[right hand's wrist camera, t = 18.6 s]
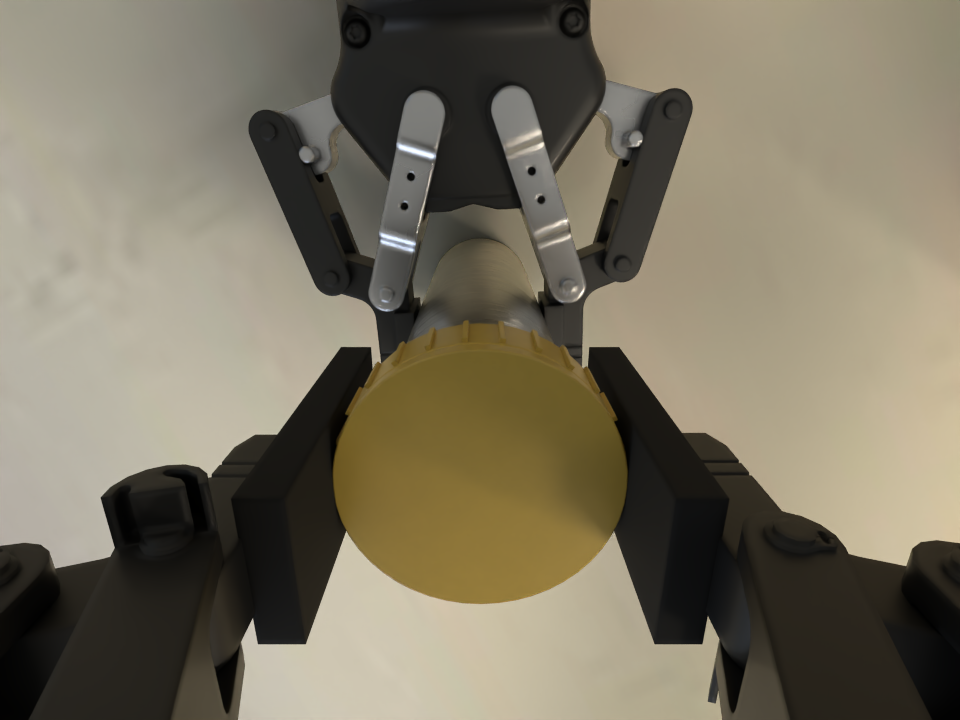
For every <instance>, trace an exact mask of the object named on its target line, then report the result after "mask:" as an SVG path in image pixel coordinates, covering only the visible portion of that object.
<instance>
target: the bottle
mask: <svg viewBox="0 0 960 720" xmlns="http://www.w3.org/2000/svg"><path fill="white" fill-rule="evenodd" d="M465 320H469V324H477V323H482V324H498V321H503V322H504V326H509V327H515V328H518V329H521V330H524V331H528V332H531V331H532V329H533V330H536V331H537V332H538V336H540V337H542V338H544V339H546V340H548V341H550V342H552V343H553V341H552V338H551V335H550V333H549V330H548V328H547V325H546V323H545V320H544V318H543V315H542V313H541V310H540V308H539V305H538V302H537V300H536V297H535V295H534V292H533V290H532V287H531V285H530V282H529V280H528V277H527V274H526V272H525V269H524V267H523V265H522V263H521V261H520V260H519V258H518V257H517V256H516V254H515V253H514V252H513V251H512V250H511V249H509V248H508V247H506V246H505V245H503V244H501V243H499V242H497V241H494V240H490V239H482V238H479V239H471V240H466V241H464V242H461V243H459V244H457V245H455V246H454V247H452V248H451V249H450V250H449V251H448V252H446V254H445V255H444V256H443V257H442V259H441V260H440V262H439V263H438V266H437V268H436V270H435V273H434V275H433V278H432V280H431V283H430V285H429V288H428V290H427V293H426V296H425V298H424V301H423V303H422V306H421V308H420V311H419V313H418V316H417V318H416V321H415V323H414V326H413V329H412V331H411V334H410V336H409V339H408V341H407V343H408V342H410V341H412V340H414V339H416V338H418V337H420V336H422V335H424V334H427V333H428V332H429V329H430V328H432V327H435V329H436V330H439V329H442V328H446V327H451V326H456V325H462V324H463V321H465ZM553 344H554V343H553Z"/></svg>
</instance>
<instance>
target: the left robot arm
mask: <svg viewBox="0 0 960 720" xmlns="http://www.w3.org/2000/svg"><path fill="white" fill-rule="evenodd" d="M336 1H337V9H338V18H339V27H340V35H341V52H340V59H339V63H338V67H337V70H336V72H335V75H334V77H333V80H332V84H331V94H329V95H327V96H324V97H321V98H319V99H316V100H313V101H311V102H308V103H305V104H303V105H300V106H297V107H295V108H292V109H289V110H287V111H284V112H280V111H271V110H261V111H258V112H257V113H255V114H254V115H253V116H252V118H251V119H250V122H249V135H250V138H251V140H252V142H253V145H254V147H255V149H256V151H257V154H258V156H259V158H260V161H261V163H262V165H263V167H264V170H265V172H266V174H267V176H268V179H269V181H270V183H271V186H272V188H273V190H274V192H275V195H276V197H277V199H278V201H279V204H280V206H281V208H282V211H283V213H284V215H285V217H286V220H287V222H288V224H289V226H290V229H291V231H292V233H293V235H294V238H295V240H296V242H297V245H298V247H299V249H300V251H301V254H302V256H303V258H304V260H305V263H306V265H307V267H308V270H309V272H310V274H311V276H312V279H313V281H314V283H315V285H316V287H317V288H318V289H319V290H320V291H321V292H322V293H324V294H326V295H329V296H337V295H340V294H344V295H347V296H350V297H354V298H357V299H360V300H363V301H364V302H366V303H367V304H368V305H369V306H370V307H371V308H372V309H373V311H374V313H375V316H376V321H377V330H378V339H379V348H380V354H381V364H382V362H384V361H385V360H386V359H387V358H388V357H389V356H390V355H391V354H393V353H394V352H395V351H396V350H397V348H398V346H399V344H400V343H401V342H403V341H404V342H405V344H407V341H408V339H409V336H410V334H411V331H412V329H413V326H414V323H415V321H416V318H417V316H418V313H419V311H420V308H421V303H420V297H418V298H414V293H413V278H414V274H415V269H416V265H417V261H418V257H419V253H420V248H421V244H422V240H423V237H424V234H425V231H426V227H427V223H428V219H429V214H430V212H449V211H452V210H455V209H458V208H461V207H464V206H467V205H471V204H477V205H481V206H485V207H490V208H494V209H515V208H519V209H520V212H521V215H522V218H523V221H524V224H525V226H526V229H527V232H528V234H529V237H530V240H531V243H532V246H533V248H534V251H535V254H536V257H537V260H538V263H539V266H540V269H541V272H542V275H543V278H544V291H543V292H538V305H539V308H540V310H541V313H542V315H543V318H544V320H545V323H546V325H547V328H548V330H549V333H550V335H551V338H552V341H553V343H554V344H555V345H556V346H558V347H559V348H560V347H561V346H562V345H564V346H565V347H566V348H567V350H568V353H569V355H570V356H571V357H572V358H573V359H575V360H576V361H577V362H578V363H579V364H580V366H581V367H582V334H583V306H584V302H585V300H586V298H587V297H588V295H589V294H590V293H591V292H592V291H594V290H595V289H598V288H600V287H602V286H605V285H607V284H610V283H612V282H615V281H616V282H626V281H629V280H631V279H632V278H634V277H635V276H636V275H637V273H638V272H639V270H640V267H641V264H642V261H643V258H644V255H645V252H646V249H647V246H648V243H649V240H650V237H651V234H652V231H653V228H654V225H655V222H656V219H657V216H658V213H659V210H660V207H661V204H662V201H663V198H664V195H665V192H666V189H667V186H668V183H669V180H670V177H671V174H672V171H673V168H674V165H675V162H676V159H677V156H678V153H679V151H680V148H681V145H682V142H683V139H684V136H685V133H686V130H687V127H688V124H689V121H690V118H691V115H692V109H693V106H692V101H691V98H690V96H689V95H688V94H687V93H686V92H685V91H683V90H681V89H678V88H672V89H668V90H665V91H662V92H660V93H653V92H649V91H645V90H642V89H638V88H634V87H630V86H626V85H623V84H619V83H615V82H611V81H607V80H606V77H605V72H604V69H603V66H602V64H601V62H600V60H599V58H598V56H597V54H596V51H595V49H594V46H593V42H592V37H591V29H590V3H591V0H336ZM595 115H597V116H598V117H600V118H601V120H602V121H603V122H604V124H605V128H606V138H605V146H606V149H607V151H608V153H609V154H610V155H611V156H612V157H614V158H616V159H618V162H617V165H616V168H615V172H614V175H613V178H612V182H611V185H610V188H609V192H608V195H607V198H606V202H605V205H604V208H603V212H602V215H601V218H600V222H599V225H598V228H597V232H596V235H595V238H594V242H593V244H591V245H589V246H587V247H584V248H582V249H579V250H577V251H576V248H575V245H574V242H573V239H572V235H571V231H570V224H569V220H568V217H567V214H566V211H565V208H564V204H563V201H562V198H561V195H560V192H559V188H558V185H557V182H556V179H555V176H554V175H555V174H556V172H557V171H558V170H559V168H560V167H561V165H562V164H563V162H564V161H565V159H566V158H567V156H568V155H569V153H570V152H571V150H572V149H573V147H574V146H575V144H576V143H577V141H578V140H579V138H580V137H581V135H582V134H583V132H584V131H585V129H586V128H587V126H588V125H589V123H590V122H591V120H592V119H593V117H594V116H595ZM344 127H345V128H346V130H347V131H348V132H349V133H350V135H351V136H352V137H353V138H354V139H355V141H356V142H357V143H358V144H359V146H360V147H361V148H362V149H363V151H364V152H365V153H366V154H367V155H368V157H369V158H370V159H371V160H372V162H373V163H374V164H375V165H376V167H377V168H378V169H379V170H380V171H381V173H382V174H383V175H384V176H385V178H386V179H387V180H388V181H389V186H388V191H387V195H386V200H385V205H384V210H383V214H382V219H381V224H380V229H379V244H378V249H377V254H376V258H375V259H373V258H370V257H367V256H363V255H360V252H359V250H358V247H357V245H356V242H355V240H354V237H353V235H352V232H351V230H350V228H349V225H348V223H347V220H346V218H345V215H344V213H343V210H342V208H341V205H340V203H339V200H338V198H337V195H336V193H335V190H334V188H333V185H332V183H331V180H330V178H329V175H328V173H329V172H331V171H332V170H333V169H334V168H335V167H336V165H337V162H338V151H337V147H336V140H337V136H338V134H339V133H340V131H341V130H342V129H343V128H344Z"/></svg>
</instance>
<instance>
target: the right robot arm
mask: <svg viewBox="0 0 960 720" xmlns="http://www.w3.org/2000/svg"><path fill="white" fill-rule="evenodd" d="M588 369H589V370H590V372H591V374H592V376H593V378H594V380H595V381H596V383H597V385H598V387H599V389H600V392H599V393H602V392H604V394H605V396H606V398H607V400H608V401H609V403H610V405H611V407H612V409H613V411H614V413H615V415H616V417H617V419H618V420H617V421H614V423H615V425H616V427H617V429H618V431H619V434H620V436H621V438H622V442H623V444H624V449H625V452H626V458H627V466H628V483H627V493H626V499H625V504H624V507H623V510H622V513H621V516H620V519H619V521H618V523H617V525H616V527H615V529H614V532H615V535H616V537H617V540H618V543H619V546H620V549H621V551H622V554H623V557H624V560H625V563H626V565H627V568H628V571H629V574H630V577H631V579H632V582H633V585H634V588H635V591H636V593H637V596H638V599H639V602H640V605H641V607H642V610H643V613H644V616H645V618H646V621H647V624H648V627H649V630H650V632H651V635H652V638H653V641H654V644H702V643H703V638H704V633H705V627H706V622H707V617H709V619H710V621H711V623H712V625H713V627H714V629H715V631H716V633H717V635H718V637H719V639H720V640H719V645H718V649H717V654H716V659H715V664H714V669H713V674H712V679H711V684H710V689H709V697H708V702H712V703H716V699H717V694H718V691H719V698H720V705H721V713H722V720H960V543H953V542H945V541H938V540H936V541H927V542H921V543H919V544H918V545H916V546H915V547H914V548H912V551H911V554H910V557H909V560H908V563H907V566H902V565H897V564H892V563H887V562H882V561H877V560H872V559H867V558H862V557H858V556H854V555H850V554H848V552H847V550H846V548H845V546H844V545H843V544H842V543H841V541H840V540H839V539H838V538H837V536H836V535H834V534H833V533H832V532H830V531H829V530H827V529H826V528H824V527H823V526H822V525H820V524H818V523H816V522H813V521H811V520H809V519H807V518H804V517H802V516H798V515H794V514H790V513H786V512H782V511H781V509H780V508H779V507H778V506H777V505H776V503H775V502H774V501H773V500H772V499H771V498H770V496H769V495H768V494H767V493H766V492H765V491H764V489H763V488H762V487H761V486H760V485H759V484H758V482H757V481H756V480H755V479H754V478H753V476H749V472H748V471H747V469H746V468H745V467H744V466H743V465H742V464H741V463H739V460H738V459H737V458H736V457H735V455H734V454H733V453H732V452H731V451H730V449H729V448H728V447H727V446H726V445H724V444H723V443H721V442H719V441H718V440H716V439H714V438H713V437H711V436H710V435H708V434H706V433H681V431H680V430H679V428H678V427H677V426H676V424H675V423H674V422H673V420H672V419H671V418H670V416H669V415H668V413H667V412H666V411H665V409H664V408H663V407H662V405H661V404H660V402H659V401H658V400H657V398H656V397H655V396H654V394H653V393H652V391H651V390H650V389H649V387H648V386H647V385H646V383H645V382H644V380H643V379H642V378H641V376H640V375H639V374H638V372H637V371H636V370H635V368H634V367H633V365H632V364H631V363H630V361H629V360H628V359H627V357H626V356H625V354H624V353H623V352H622V350H621V349H620V348H619V347H589V360H588ZM372 370H373V369H372V355H371V347H341V348H340V349H339V351H338V352H337V354H336V355H335V356H334V358H333V359H332V360H331V362H330V363H329V365H328V366H327V367H326V369H325V370H324V371H323V373H322V374H321V376H320V377H319V378H318V380H317V381H316V382H315V384H314V385H313V386H312V388H311V389H310V391H309V392H308V393H307V395H306V396H305V397H304V399H303V400H302V402H301V403H300V404H299V406H298V407H297V408H296V410H295V411H294V413H293V414H292V415H291V417H290V418H289V419H288V421H287V422H286V424H285V425H284V426H283V428H282V429H281V430H280V432H279V433H278V434H277V435H254V436H252V437H251V438H249V439H248V440H246V441H244V442H243V443H241V444H239V445H238V446H236V447H234V449H233V450H232V451H231V452H230V453H229V455H228V456H227V457H226V458H225V459H224V460H223V462H222V465H219V466H218V468H217V469H216V470H215V471H214V472H213V473H212V477H211V478H208V476H207V473H206V472H204V471H203V470H202V469H200V468H199V467H195V466H190V465H166V466H162V467H157V468H152V469H148V470H145V471H142V472H139V473H137V474H134V475H132V476H129V477H127V478H125V479H123V480H122V481H120V482H118V483H117V484H115V485H113V486H112V487H110V488H109V489H108V490H107V492H106V493H105V494H104V495H103V496H102V497H101V501H102V504H103V508H104V511H105V515H106V518H107V522H108V525H109V529H110V532H111V536H112V539H113V543H114V546H115V549H114V551H113V553H112V555H111V557H108V558H104V559H100V560H95V561H91V562H86V563H81V564H76V565H71V566H66V567H61V568H56V569H55V567H54V564H53V561H52V558H51V555H50V553H49V551H48V550H47V549H46V548H44V547H43V546H42V545H39V544H30V543H20V544H12V545H4V546H0V720H238V714H239V707H240V699H241V691H242V684H243V676H244V668H245V663H244V655H243V649H242V645H241V641H242V639H243V637H244V634H245V632H246V630H247V628H248V626H249V624H250V622H251V620H252V618H253V620H254V625H255V631H256V636H257V641H258V644H306V642H307V639H308V636H309V633H310V631H311V628H312V625H313V622H314V619H315V617H316V614H317V611H318V608H319V605H320V603H321V600H322V597H323V594H324V592H325V589H326V586H327V583H328V580H329V578H330V575H331V572H332V569H333V566H334V564H335V561H336V558H337V555H338V552H339V550H340V547H341V544H342V541H343V538H344V536H345V533H346V529H345V527H344V525H343V523H342V521H341V518H340V515H339V512H338V510H337V507H336V503H335V497H334V489H333V478H332V469H333V460H334V453H335V450H336V446H337V445H336V439H337V437H338V435H339V433H340V431H341V429H342V427H343V425H344V423H345V421H346V419H347V417H348V415H346V414H345V413H346V411H347V409H348V407H349V406H350V404H351V402H352V400H353V398H354V396H355V394H356V392H357V390H358V388H359V387H361V388H364V385H365V383H366V381H367V379H368V378H369V376H370V374H371V372H372Z"/></svg>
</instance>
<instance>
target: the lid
mask: <svg viewBox="0 0 960 720" xmlns="http://www.w3.org/2000/svg"><path fill="white" fill-rule="evenodd" d="M599 392H600V389H599V387H598V385H597V383H596V381H595V380H594V378H593V376H592V374H591V372H590V370H589V369H588V367H587V366H586V367H585V368H582V367H581V366H580V364H579V363H578V362H577V361H576V360H575V359H573V358H572V357H571V356H570V355H569V353H568V350H567V348H566V347H565V346H564V345H562V346H561V347H560V348H559V347H558V346H556V345H555V344H553V343H552V342H550V341H548V340H546V339H544V338H542V337H540V336H538V332H537V331H536V330H533V329H532V331H531V332H528V331H524V330H521V329H518V328H515V327H509V326H504V322H503V321H498V324H482V323H477V324H469V320H465V321H463V324H462V325H456V326H451V327H446V328H442V329H439V330H436V329H435V327H432V328H430V329H429V332H428V333H427V334H424V335H422V336H420V337H418V338H416V339H414V340H412V341H410V342H408V343H407V344H405V342H404V341H403V342H401V343H400V344H399V346H398V348H397V350H396V351H395V352H394V353H393V354H391V355H390V356H389V357H388V358H387V359H386V360H385V361H384V362H382V364H380V363H379V362H377V363H376V364H375V366H374V368H373V370H372V372H371V374H370V376H369V378H368V379H367V381H366V383H365V385H364V388H361V387H359V388H358V390H357V392H356V394H355V396H354V398H353V400H352V402H351V404H350V406H349V407H348V409H347V411H346V413H345V414H346V415H348V417H347V419H346V421H345V423H344V425H343V427H342V429H341V431H340V433H339V435H338V437H337V439H336V445H337V446H336V450H335V453H334V460H333V469H332V478H333V489H334V497H335V503H336V507H337V510H338V512H339V515H340V518H341V521H342V523H343V525H344V527H345V529H346V531H347V533H348V535H349V536H350V538H351V539H352V541H353V542H354V543H355V545H356V546H357V548H358V549H359V550H360V551H361V552H362V554H363V555H364V556H365V557H366V558H367V559H368V560H369V561H370V562H371V563H372V564H373V565H375V566H376V567H377V568H378V569H379V570H380V571H382V572H383V573H384V574H386V575H387V576H389V577H390V578H392V579H393V580H395V581H396V582H398V583H400V584H402V585H404V586H406V587H408V588H410V589H412V590H414V591H417V592H419V593H422V594H425V595H427V596H430V597H434V598H438V599H442V600H446V601H453V602H459V603H471V604H489V603H501V602H508V601H514V600H518V599H522V598H526V597H530V596H533V595H536V594H538V593H541V592H543V591H546V590H549V589H551V588H553V587H554V586H556V585H558V584H560V583H562V582H564V581H566V580H567V579H569V578H570V577H572V576H573V575H574V574H576V573H577V572H579V571H580V570H581V569H582V568H583V567H585V566H586V565H587V564H588V563H589V562H590V561H591V560H592V559H593V558H594V557H595V556H596V555H597V554H598V553H599V552H600V550H601V549H602V548H603V547H604V545H605V544H606V542H607V541H608V540H609V538H610V537H611V535H612V533H613V531H614V529H615V527H616V525H617V523H618V521H619V519H620V516H621V513H622V510H623V507H624V504H625V499H626V493H627V483H628V466H627V458H626V452H625V449H624V444H623V442H622V438H621V436H620V434H619V431H618V429H617V427H616V425H615V423H614V421H617V420H618V419H617V417H616V415H615V413H614V411H613V409H612V407H611V405H610V403H609V401H608V400H607V398H606V396H605V394H604V392H602V393H599Z"/></svg>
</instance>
